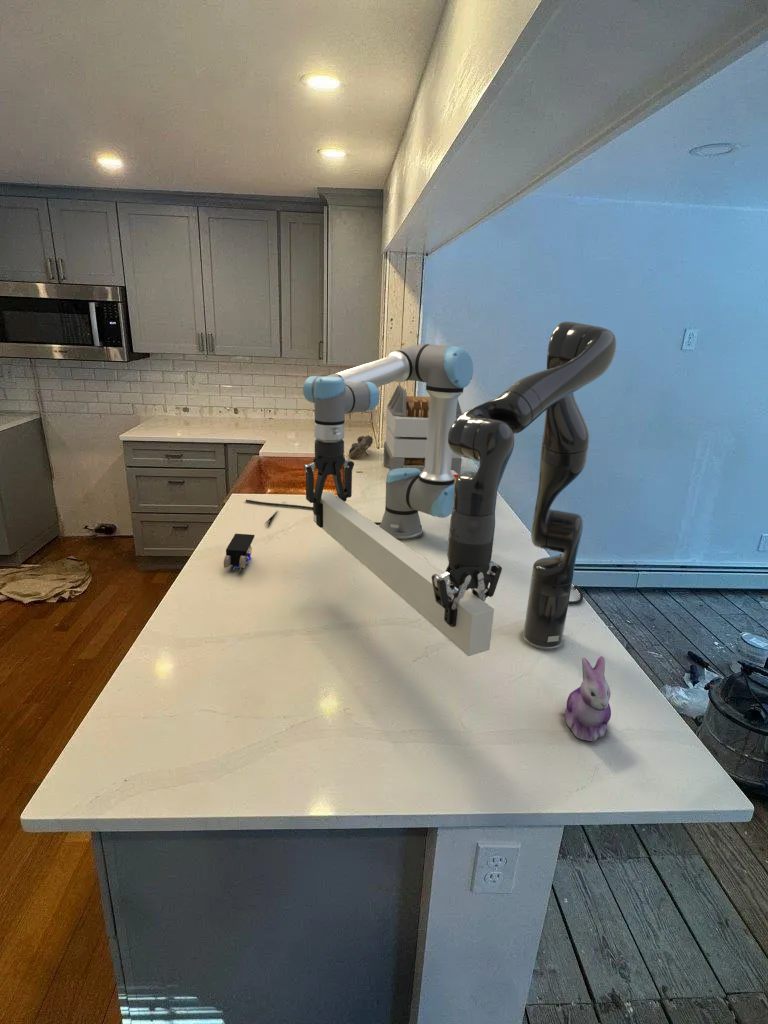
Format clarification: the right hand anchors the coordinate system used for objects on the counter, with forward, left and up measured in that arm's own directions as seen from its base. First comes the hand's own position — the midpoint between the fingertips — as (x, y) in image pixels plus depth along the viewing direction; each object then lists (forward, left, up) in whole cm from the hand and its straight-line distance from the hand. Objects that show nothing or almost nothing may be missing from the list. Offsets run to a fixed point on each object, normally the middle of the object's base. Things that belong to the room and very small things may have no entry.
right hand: (462, 621), depth 102 cm
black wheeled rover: (-27, -83, -22) cm, 90 cm away
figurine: (-14, +22, -22) cm, 35 cm away
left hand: (-30, -52, -3) cm, 60 cm away
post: (-15, -26, -4) cm, 30 cm away
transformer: (-152, -88, -22) cm, 177 cm away
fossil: (-163, -130, -22) cm, 210 cm away
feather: (-66, -103, -22) cm, 125 cm away
